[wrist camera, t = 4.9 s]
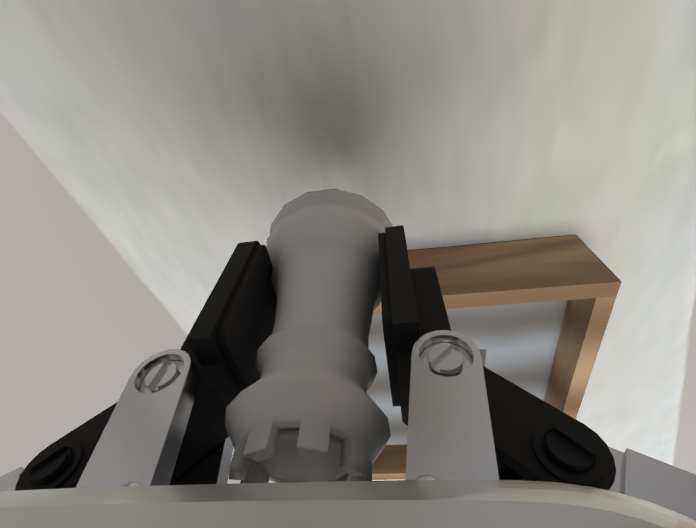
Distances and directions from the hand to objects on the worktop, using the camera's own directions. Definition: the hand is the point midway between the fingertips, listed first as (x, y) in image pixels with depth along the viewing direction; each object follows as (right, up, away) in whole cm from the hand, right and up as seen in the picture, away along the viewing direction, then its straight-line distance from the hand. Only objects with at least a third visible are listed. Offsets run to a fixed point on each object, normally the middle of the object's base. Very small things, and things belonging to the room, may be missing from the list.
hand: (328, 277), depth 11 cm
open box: (+8, -7, +18) cm, 21 cm away
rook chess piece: (0, +1, +2) cm, 2 cm away
